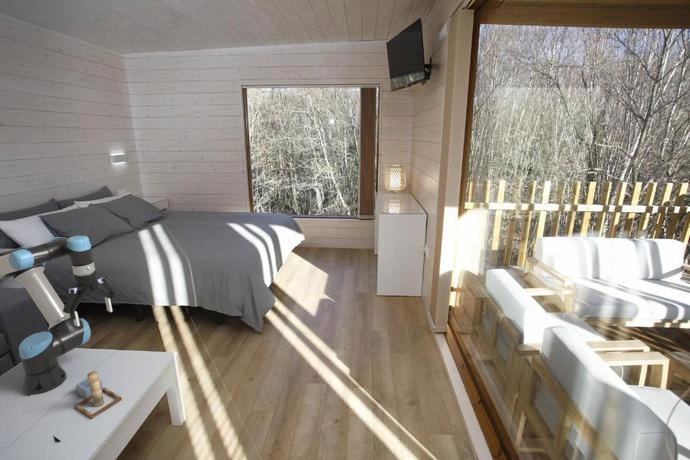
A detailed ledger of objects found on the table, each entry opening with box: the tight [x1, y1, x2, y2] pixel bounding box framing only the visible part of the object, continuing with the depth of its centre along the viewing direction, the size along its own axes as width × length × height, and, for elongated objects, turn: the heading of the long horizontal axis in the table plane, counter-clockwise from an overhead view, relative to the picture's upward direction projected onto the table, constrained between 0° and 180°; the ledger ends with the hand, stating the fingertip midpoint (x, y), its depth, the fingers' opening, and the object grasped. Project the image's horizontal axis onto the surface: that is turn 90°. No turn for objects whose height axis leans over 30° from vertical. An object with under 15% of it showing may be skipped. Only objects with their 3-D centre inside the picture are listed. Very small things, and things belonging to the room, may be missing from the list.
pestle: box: [86, 370, 105, 408], centre depth 154 cm, size 4×4×15 cm
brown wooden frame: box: [74, 387, 123, 420], centre depth 156 cm, size 12×12×2 cm
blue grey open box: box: [76, 377, 104, 399], centre depth 162 cm, size 7×7×5 cm
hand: (94, 317), depth 162 cm, fingers open, 13 cm apart
